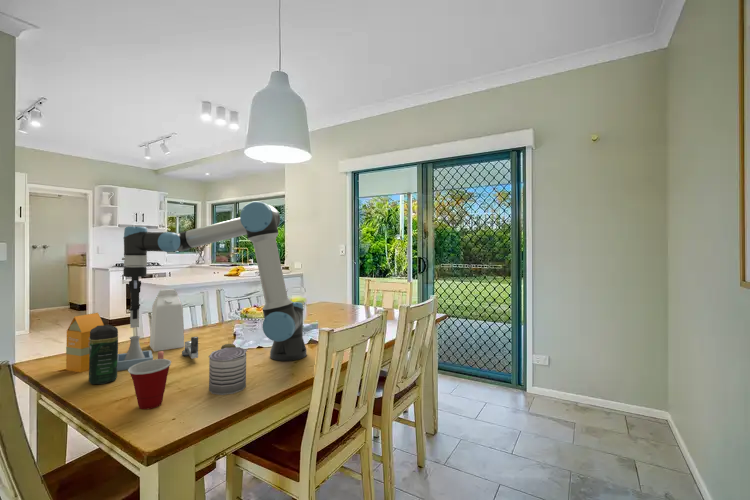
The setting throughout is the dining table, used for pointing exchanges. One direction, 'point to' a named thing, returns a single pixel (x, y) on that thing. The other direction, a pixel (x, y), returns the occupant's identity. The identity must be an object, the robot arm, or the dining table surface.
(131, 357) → the flask
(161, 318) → the milk
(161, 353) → the stop post
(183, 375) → the dining table surface
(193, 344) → the crank
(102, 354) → the coffee jar
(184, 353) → the crank base
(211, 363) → the can
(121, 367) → the tray
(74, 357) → the orange juice
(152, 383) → the plastic cup
